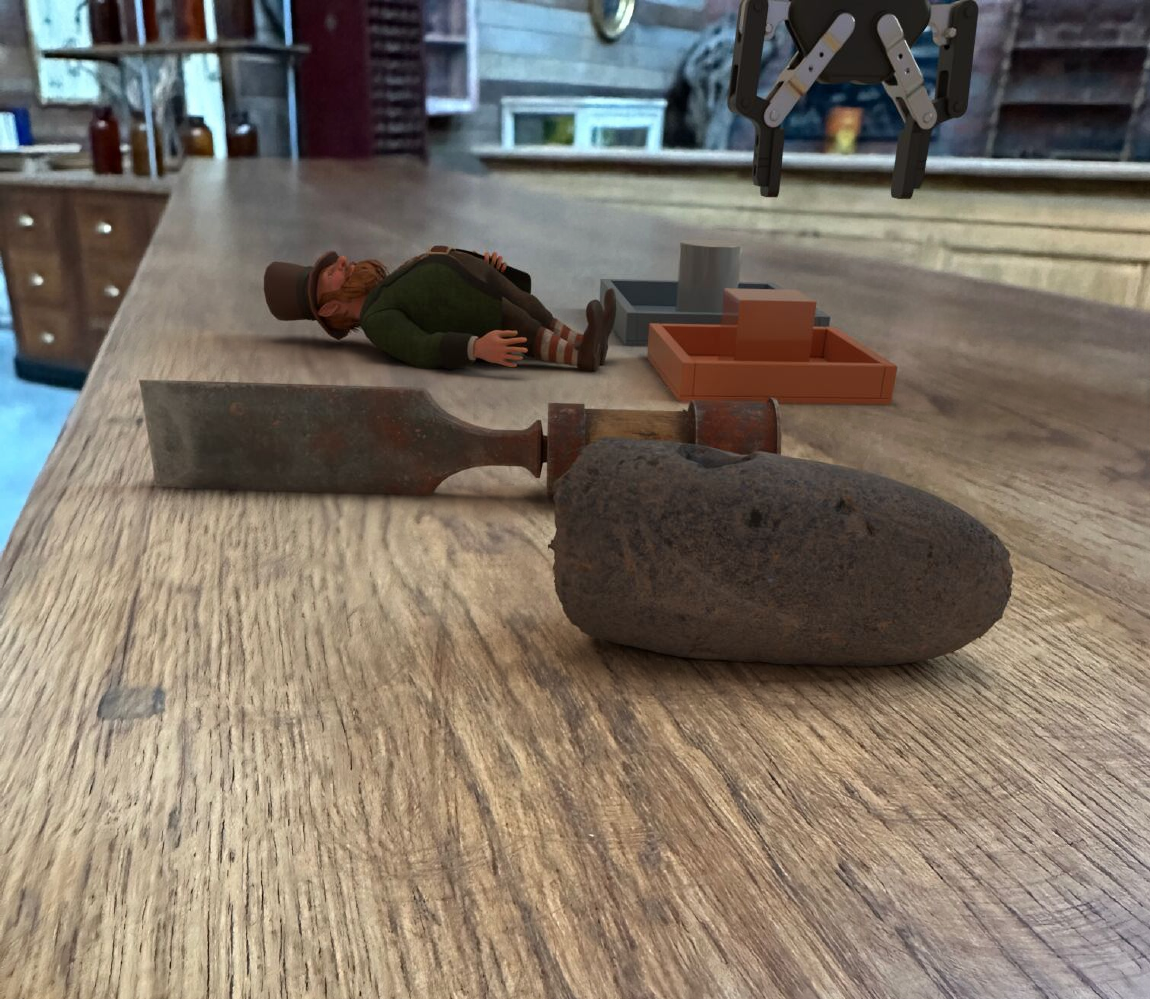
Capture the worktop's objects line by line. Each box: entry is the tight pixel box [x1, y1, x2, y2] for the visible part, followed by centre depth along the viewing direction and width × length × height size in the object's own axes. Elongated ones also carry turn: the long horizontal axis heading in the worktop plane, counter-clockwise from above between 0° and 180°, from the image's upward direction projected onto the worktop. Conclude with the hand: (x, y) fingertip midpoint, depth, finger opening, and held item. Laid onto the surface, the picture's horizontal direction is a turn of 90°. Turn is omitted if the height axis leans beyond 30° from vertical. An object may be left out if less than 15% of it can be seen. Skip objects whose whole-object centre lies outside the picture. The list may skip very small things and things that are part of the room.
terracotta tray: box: [646, 323, 898, 405], centre depth 76 cm, size 14×14×3 cm
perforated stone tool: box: [547, 437, 1014, 667], centre depth 37 cm, size 15×5×7 cm, turn 81°
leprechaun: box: [263, 245, 616, 373], centre depth 79 cm, size 11×10×25 cm
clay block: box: [717, 288, 818, 362], centre depth 75 cm, size 5×5×5 cm
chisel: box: [138, 379, 783, 496], centre depth 51 cm, size 28×5×5 cm, turn 91°
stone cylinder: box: [675, 238, 743, 313], centre depth 92 cm, size 5×5×6 cm
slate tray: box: [599, 278, 831, 347], centre depth 93 cm, size 16×18×3 cm
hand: (835, 197), depth 71 cm, fingers open, 8 cm apart
